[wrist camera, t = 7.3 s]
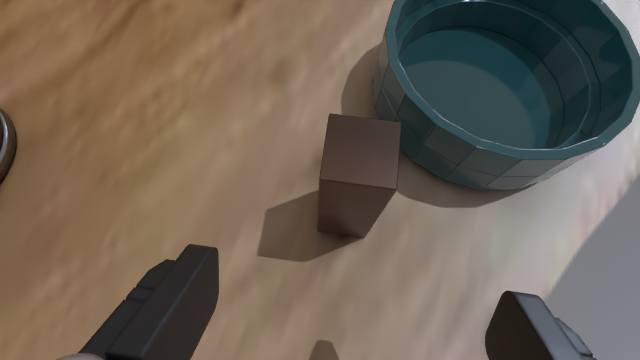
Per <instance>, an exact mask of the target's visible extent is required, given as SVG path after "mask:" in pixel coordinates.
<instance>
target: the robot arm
mask: <svg viewBox="0 0 640 360" xmlns="http://www.w3.org/2000/svg"><path fill="white" fill-rule="evenodd" d="M15 144H16V136H15V130H14V126H13V124H12V121H11V120H10V118H9V117H8V115H7V114H6V113H5V112H4V111H3V110H2V109H1V108H0V180H1V179H2V177H3V176H4V174H5V173H6V171H7V169H8V167H9V165H10V163H11V160H12V158H13V154H14V151H15ZM218 294H219V262H218V250H217V248H215V247H208V246H201V245H194V244H189V245H188V246H187V247H186V248H185V249H184V250H183V252H182V253H181V254H180V256H179V257H178V258H177V260H176V261H174V260H168V259H166V260H165V261H163V262H162V263H160V264H158V265H157V266H155V267H153V268H152V269H150V270H149V271H148V272H147V273H146V274H145V276H144V277H143V278H142V279H141V280H140V281H139V283H138V284H137V286H136V288H133V290H132V291H131V292H130V293H129V294H128V295H127V297H126V300H123V301H122V302H121V304H120V305H119V306H118V307H117V308H116V309H115V311H114V312H113V313H112V314H111V315H110V316H109V318H108V319H107V320H106V321H105V322H104V323H103V325H102V326H101V327H100V328H99V329H98V330H97V332H96V333H95V334H94V335H93V336H92V337H91V339H90V340H89V341H88V342H87V343H86V344H85V346H84V347H83V348H82V349H81V350H80V351H79V352H78V353H77V354H72V355H68V356H64V357H62V358H59V359H57V360H190V359H191V357H192V355H193V353H194V351H195V349H196V347H197V345H198V343H199V341H200V339H201V337H202V335H203V333H204V331H205V329H206V327H207V325H208V323H209V321H210V319H211V317H212V315H213V313H214V310H215V307H216V304H217V300H218ZM485 347H486V352H487V355H488V358H489V360H597V359H596V358H593V356H592V355H593V354H592V353H591V351H590V350H589V349H588V347H587V346H586V345H585V343H584V342H583V341H582V339H581V338H580V337H579V335H578V334H576V333H575V332H574V331H573V330H572V329H571V328H569V327H568V326H567V325H566V324H565V323H564V322H562V321H561V320H560V319H559V318H555V317H554V316H553V315H552V313H551V312H550V310H549V309H548V308H547V306H546V305H545V303H544V302H543V300H542V299H541V298H540V297H539V296H537V295H533V294H526V293H519V292H512V291H505V292H504V293H503V294H502V296H501V298H500V300H499V302H498V305H497V307H496V310H495V312H494V314H493V317H492V319H491V321H490V324H489V326H488V329H487V331H486V336H485Z"/></svg>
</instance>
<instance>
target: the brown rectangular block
mask: <svg viewBox="0 0 640 360" xmlns="http://www.w3.org/2000/svg"><path fill="white" fill-rule="evenodd" d="M400 135H401V123H400V122H393V121H385V120H377V119H369V118H361V117H354V116H346V115H338V114H329V117H328V124H327V131H326V137H325V144H324V151H323V158H322V164H321V171H320V178H319V200H318V225H317V231H319V232H326V233H333V234H340V235H347V236H354V237H362V238H365V236H366V235H367V233H368V232H369V230H370V229H371V227H372V226H373V224H374V223H375V221H376V220H377V218H378V217H379V215H380V214H381V213H382V211H383V210H384V208H385V207H386V205H387V204H388V202H389V201H390V199H391V198H392V196H393V195H394V193H395V192H396V191H397V186H398V169H399V152H400Z"/></svg>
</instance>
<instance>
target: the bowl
mask: <svg viewBox="0 0 640 360" xmlns="http://www.w3.org/2000/svg"><path fill="white" fill-rule="evenodd" d="M373 90H374V101H375V107H376V110H377V112H378V114H379V116H380V118H381V120H385V121H393V122H400V123H401V135H400V148H401V149H402V150H403V151H404V152H405V154H406V155H407V156H408V157H409V158H410V159H411V160H412V161H413V162H415V163H417V164H418V165H420V166H422V167H423V168H425V169H427V170H428V171H430V172H432V173H433V174H435V175H437V176H438V177H440V178H442V179H444V180H446V181H450V182H453V183H457V184H461V185H464V186H468V187H471V188H475V189H479V190H516V189H520V188H522V187H525V186H528V185H531V184H534V183H537V182H540V181H542V180H545V179H548V178H550V177H551V176H553V175H555V174H557V173H558V172H560V171H562V170H564V169H565V168H567V167H569V166H571V165H572V164H574V163H576V162H578V161H579V160H581V159H583V158H585V157H586V156H588V155H590V154H592V153H593V152H595V151H597V150H599V149H600V148H602V147H604V146H606V145H607V144H608V143H609V142H610V141H611V140H612V139H613V138H615V137H616V136H617V135H618V134H619V133H620V132H621V131H622V130H624V129H625V128H626V127H627V126H628V125H629V124H630V123H631V122H632V119H633V117H634V114H635V112H636V109H637V107H638V105H639V102H640V56H639V53H638V51H637V49H636V47H635V44H634V42H633V40H632V38H631V35H630V33H629V31H628V30H627V28H626V27H625V26H624V24H623V23H622V22H621V21H620V20H619V19H618V17H617V16H616V15H615V14H614V13H613V12H612V10H611V9H610V8H609V7H608V6H607V5H606V4H605V3H603V1H602V0H395V1H394V3H393V5H392V8H391V12H390V15H389V18H388V22H387V25H386V28H385V32H384V36H383V40H382V44H381V48H380V52H379V56H378V60H377V64H376V68H375V72H374V76H373Z"/></svg>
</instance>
